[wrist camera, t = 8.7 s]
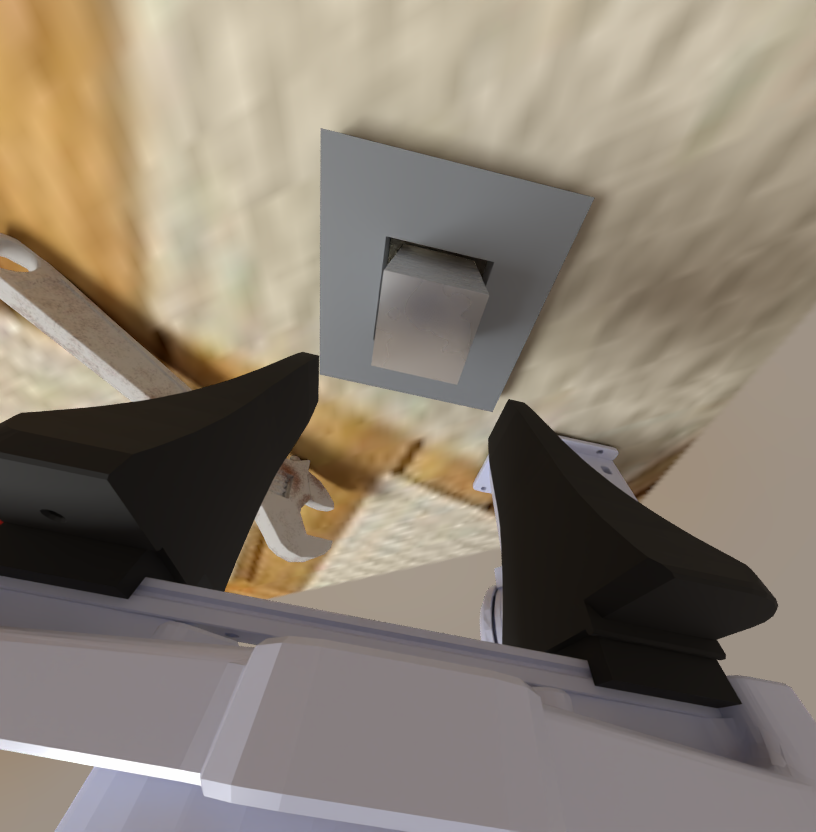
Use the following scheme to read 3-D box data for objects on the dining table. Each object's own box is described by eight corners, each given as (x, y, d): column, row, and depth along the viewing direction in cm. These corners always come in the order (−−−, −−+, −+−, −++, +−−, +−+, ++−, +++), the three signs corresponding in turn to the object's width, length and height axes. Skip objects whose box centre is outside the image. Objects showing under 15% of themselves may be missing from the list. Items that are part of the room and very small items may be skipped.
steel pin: (473, 260, 16) (489, 295, 11) (453, 328, 19) (457, 384, 13) (404, 243, 16) (383, 270, 11) (392, 314, 19) (371, 365, 13)
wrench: (61, 228, 20) (353, 497, 30) (55, 247, 21) (341, 503, 31) (-140, 227, 13) (320, 573, 23) (-138, 254, 14) (306, 578, 24)
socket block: (577, 197, 14) (594, 197, 13) (488, 395, 22) (492, 411, 20) (335, 135, 14) (320, 128, 12) (329, 360, 21) (319, 374, 19)
